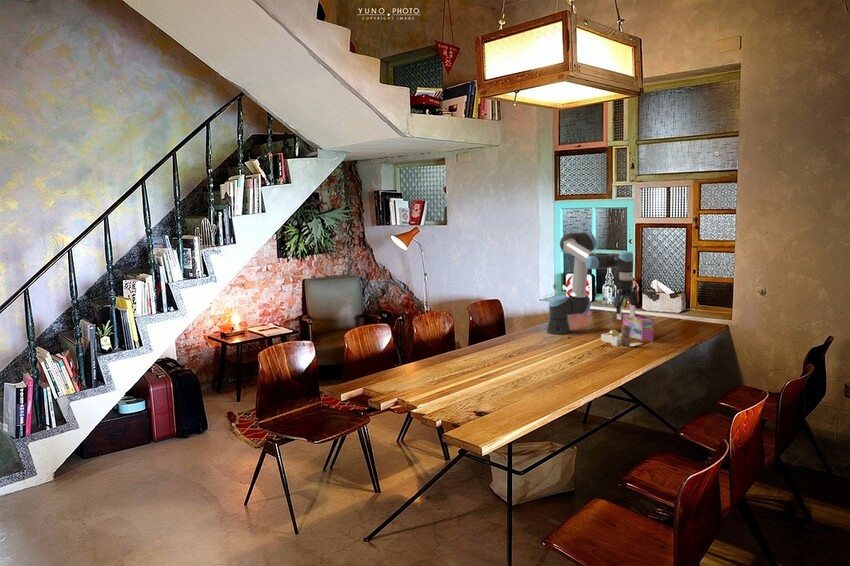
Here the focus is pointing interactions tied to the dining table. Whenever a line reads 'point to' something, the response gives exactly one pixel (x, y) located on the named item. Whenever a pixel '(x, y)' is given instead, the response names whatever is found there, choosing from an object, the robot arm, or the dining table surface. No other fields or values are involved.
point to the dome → (613, 333)
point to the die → (616, 341)
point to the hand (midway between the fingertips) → (625, 317)
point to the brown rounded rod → (625, 336)
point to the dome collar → (609, 337)
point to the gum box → (639, 326)
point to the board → (634, 344)
